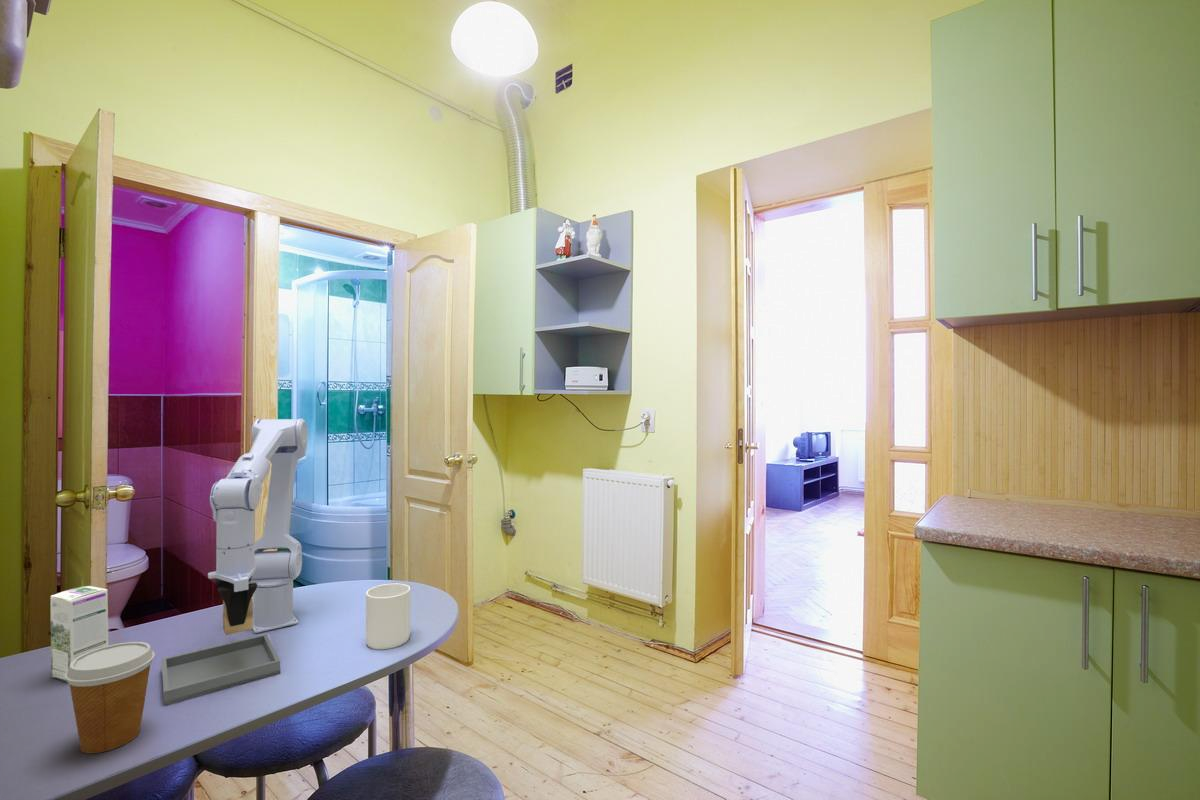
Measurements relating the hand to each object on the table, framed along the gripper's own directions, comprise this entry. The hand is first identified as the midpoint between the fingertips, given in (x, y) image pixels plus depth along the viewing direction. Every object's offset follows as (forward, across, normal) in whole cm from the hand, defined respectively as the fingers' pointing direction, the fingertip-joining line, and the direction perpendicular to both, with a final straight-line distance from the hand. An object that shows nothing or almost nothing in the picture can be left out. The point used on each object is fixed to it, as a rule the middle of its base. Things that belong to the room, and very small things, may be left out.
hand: (235, 620), depth 98 cm
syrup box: (+9, -15, -21) cm, 27 cm away
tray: (+8, 0, -2) cm, 9 cm away
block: (+2, 0, 0) cm, 2 cm away
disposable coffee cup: (+9, +13, -16) cm, 23 cm away
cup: (+9, +5, +25) cm, 27 cm away
